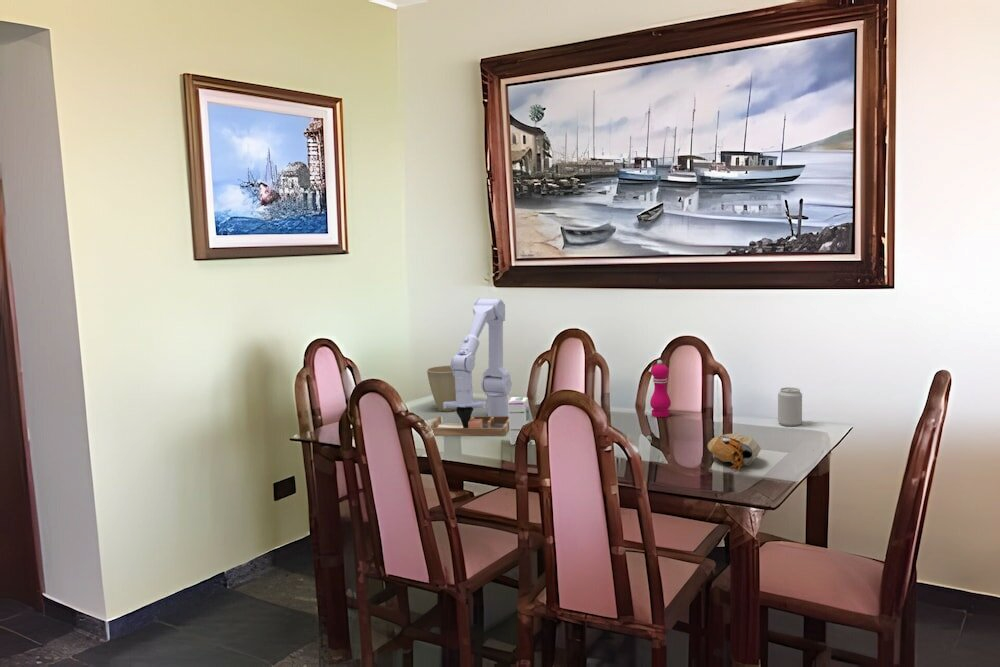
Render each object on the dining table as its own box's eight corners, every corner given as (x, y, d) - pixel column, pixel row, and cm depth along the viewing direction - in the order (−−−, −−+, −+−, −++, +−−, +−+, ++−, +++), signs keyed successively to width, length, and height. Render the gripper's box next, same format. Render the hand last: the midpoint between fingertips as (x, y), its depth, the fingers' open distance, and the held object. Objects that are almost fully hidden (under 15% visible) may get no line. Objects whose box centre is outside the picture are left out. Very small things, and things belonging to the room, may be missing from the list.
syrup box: (527, 445, 257) (525, 400, 255) (509, 444, 258) (507, 400, 256) (530, 440, 262) (528, 396, 260) (512, 440, 263) (510, 396, 261)
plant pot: (466, 413, 302) (463, 371, 300) (426, 414, 303) (424, 373, 301) (469, 404, 317) (467, 364, 315) (431, 405, 318) (429, 365, 316)
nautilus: (757, 480, 216) (700, 478, 222) (764, 452, 235) (711, 451, 241) (755, 452, 214) (698, 451, 220) (762, 426, 234) (709, 426, 240)
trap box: (438, 424, 288) (438, 416, 288) (513, 424, 283) (512, 416, 283) (426, 437, 271) (425, 428, 271) (504, 437, 266) (504, 428, 266)
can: (778, 426, 265) (778, 391, 263) (777, 420, 272) (777, 386, 270) (802, 427, 263) (802, 391, 261) (801, 421, 270) (801, 386, 268)
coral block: (471, 430, 275) (470, 418, 275) (482, 430, 274) (482, 419, 274) (468, 433, 271) (468, 421, 271) (480, 433, 271) (479, 422, 270)
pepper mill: (671, 417, 282) (670, 361, 279) (650, 418, 283) (649, 362, 281) (670, 412, 289) (669, 358, 286) (650, 413, 290) (649, 358, 288)
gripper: (440, 392, 269) (442, 431, 271) (482, 392, 267) (484, 432, 268) (445, 387, 276) (447, 426, 278) (486, 387, 273) (488, 426, 275)
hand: (465, 428), depth 274 cm, fingers closed
